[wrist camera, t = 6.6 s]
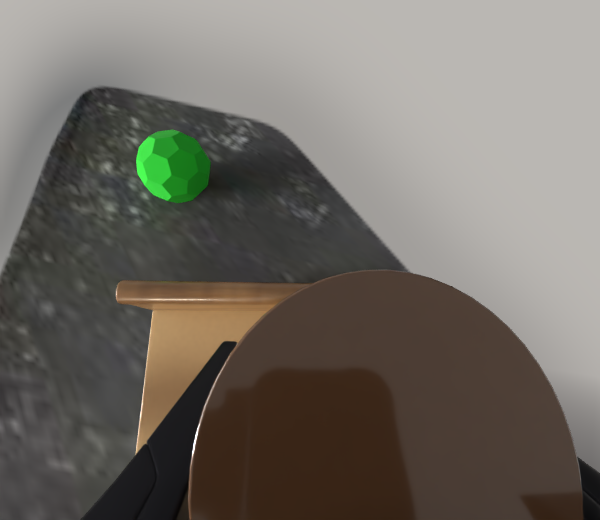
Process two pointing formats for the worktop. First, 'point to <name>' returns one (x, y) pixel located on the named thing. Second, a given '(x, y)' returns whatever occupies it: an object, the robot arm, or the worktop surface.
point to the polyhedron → (173, 166)
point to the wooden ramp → (191, 332)
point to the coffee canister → (382, 413)
